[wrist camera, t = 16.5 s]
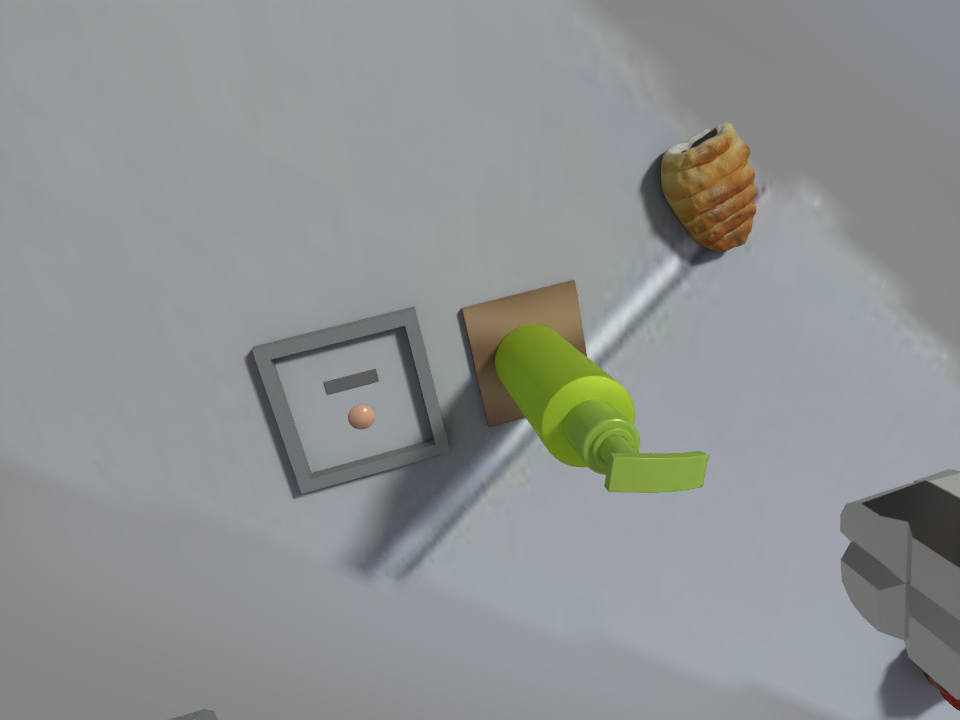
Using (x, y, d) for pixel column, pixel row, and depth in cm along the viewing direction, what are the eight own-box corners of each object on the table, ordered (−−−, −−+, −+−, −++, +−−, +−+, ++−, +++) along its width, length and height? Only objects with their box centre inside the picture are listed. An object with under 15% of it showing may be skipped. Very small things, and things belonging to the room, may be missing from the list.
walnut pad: (461, 308, 48) (462, 309, 48) (572, 280, 49) (574, 281, 49) (487, 424, 51) (488, 427, 51) (591, 396, 53) (593, 398, 52)
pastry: (759, 225, 51) (789, 229, 48) (688, 266, 51) (713, 274, 48) (720, 115, 48) (749, 111, 44) (644, 160, 48) (667, 159, 44)
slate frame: (254, 346, 46) (252, 350, 45) (413, 306, 48) (415, 309, 47) (302, 487, 50) (301, 493, 49) (448, 447, 51) (450, 452, 50)
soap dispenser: (573, 395, 52) (700, 526, 33) (491, 394, 50) (574, 530, 31) (583, 325, 50) (721, 421, 31) (498, 322, 49) (590, 420, 30)
